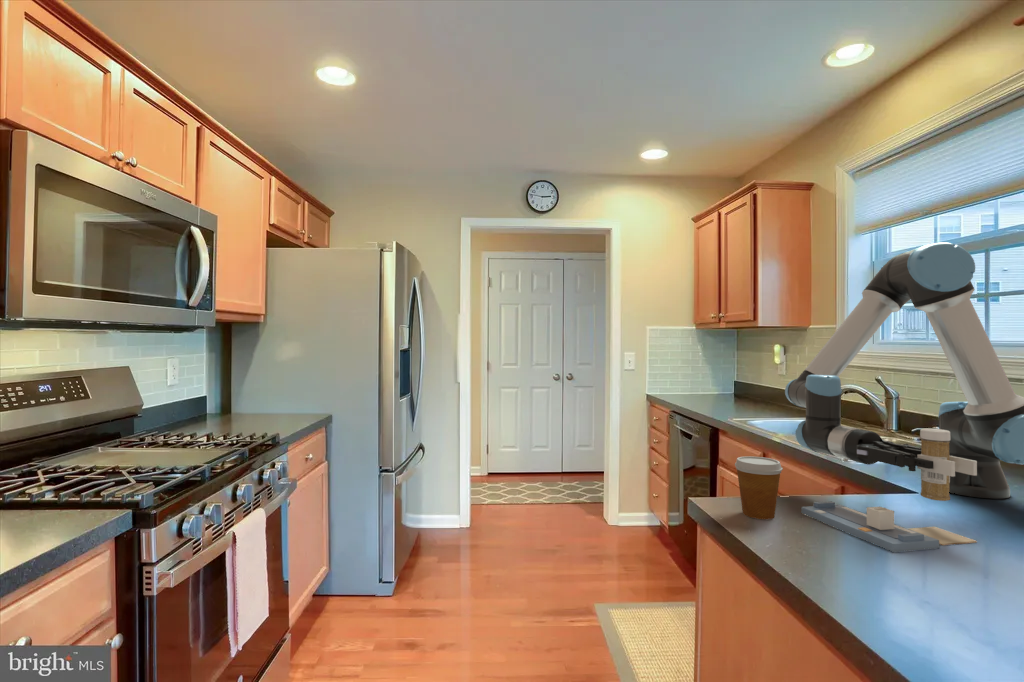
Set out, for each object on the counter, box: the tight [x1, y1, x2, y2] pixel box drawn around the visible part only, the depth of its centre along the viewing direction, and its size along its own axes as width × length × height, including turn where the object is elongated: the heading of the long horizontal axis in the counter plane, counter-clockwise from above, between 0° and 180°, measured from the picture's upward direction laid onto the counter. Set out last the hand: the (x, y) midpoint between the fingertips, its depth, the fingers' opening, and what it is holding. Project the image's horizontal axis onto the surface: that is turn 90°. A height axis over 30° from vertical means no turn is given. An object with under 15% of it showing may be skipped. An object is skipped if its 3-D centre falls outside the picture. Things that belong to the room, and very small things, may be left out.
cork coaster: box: [908, 526, 978, 546], centre depth 99 cm, size 8×8×1 cm
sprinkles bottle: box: [919, 427, 951, 502], centre depth 100 cm, size 5×5×13 cm
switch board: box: [800, 501, 940, 553], centre depth 103 cm, size 10×22×2 cm, turn 11°
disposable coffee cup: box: [734, 456, 783, 520], centre depth 112 cm, size 10×10×12 cm
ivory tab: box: [866, 506, 895, 530], centre depth 99 cm, size 3×3×4 cm
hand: (964, 468), depth 94 cm, fingers closed on sprinkles bottle, 4 cm apart
